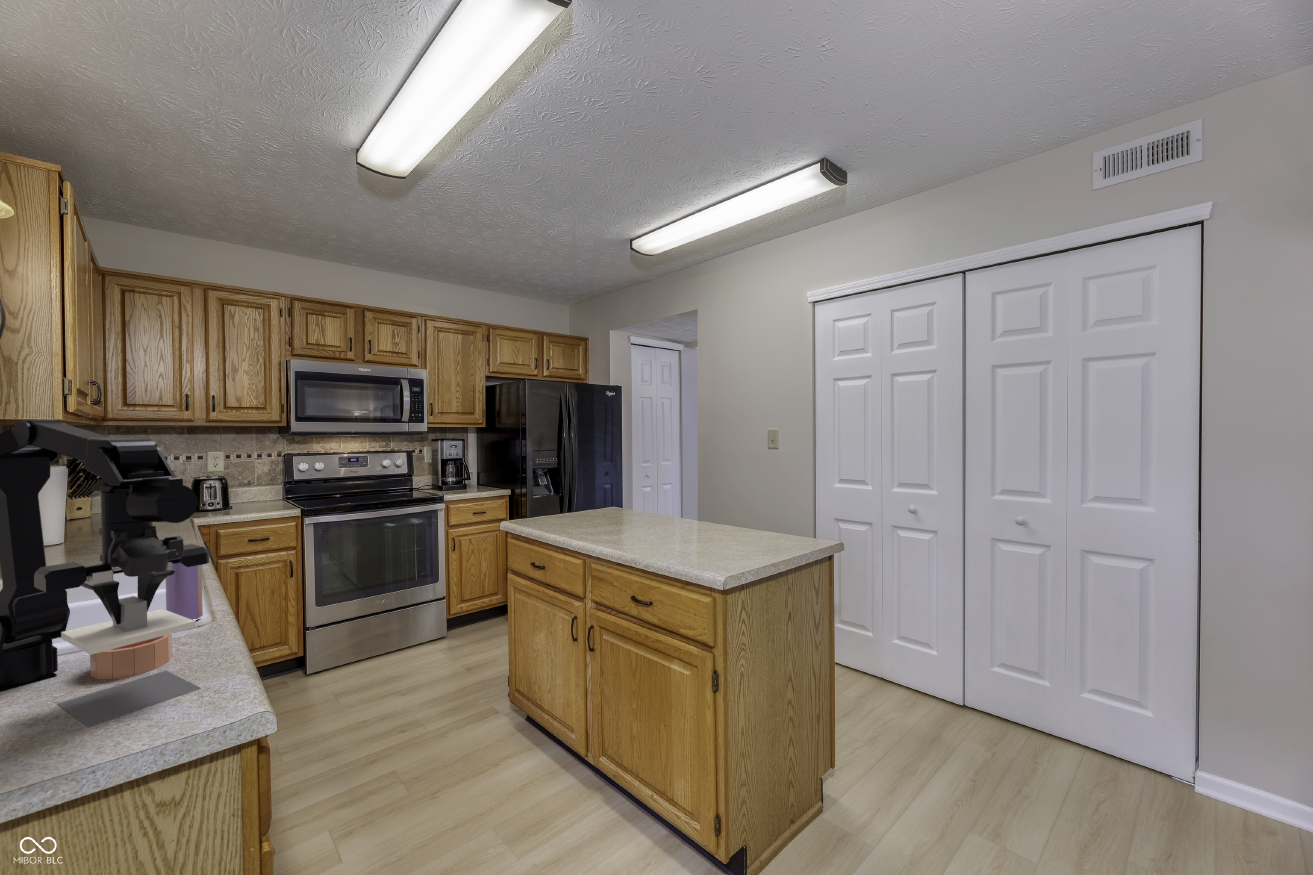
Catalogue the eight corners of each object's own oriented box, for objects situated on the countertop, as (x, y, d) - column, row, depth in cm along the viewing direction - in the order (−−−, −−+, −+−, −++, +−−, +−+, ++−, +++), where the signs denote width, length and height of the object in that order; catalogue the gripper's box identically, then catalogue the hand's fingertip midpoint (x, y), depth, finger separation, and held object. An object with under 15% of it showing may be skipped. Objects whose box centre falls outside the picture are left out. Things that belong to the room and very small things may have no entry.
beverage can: (186, 626, 116) (185, 555, 116) (158, 625, 116) (157, 555, 116) (209, 616, 122) (208, 549, 122) (183, 616, 122) (182, 549, 122)
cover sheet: (90, 654, 77) (89, 619, 77) (61, 638, 83) (60, 605, 83) (195, 627, 87) (194, 596, 87) (162, 614, 93) (162, 585, 93)
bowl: (104, 686, 89) (104, 656, 89) (82, 673, 94) (81, 644, 94) (181, 663, 98) (180, 635, 98) (157, 652, 103) (156, 625, 103)
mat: (88, 730, 76) (88, 727, 76) (56, 707, 83) (56, 703, 83) (201, 691, 88) (201, 688, 88) (166, 673, 94) (166, 670, 94)
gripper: (58, 536, 73) (60, 653, 73) (224, 515, 89) (226, 611, 89) (31, 528, 78) (34, 637, 78) (192, 510, 94) (194, 601, 95)
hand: (129, 621), depth 85 cm, fingers closed on cover sheet, 2 cm apart
